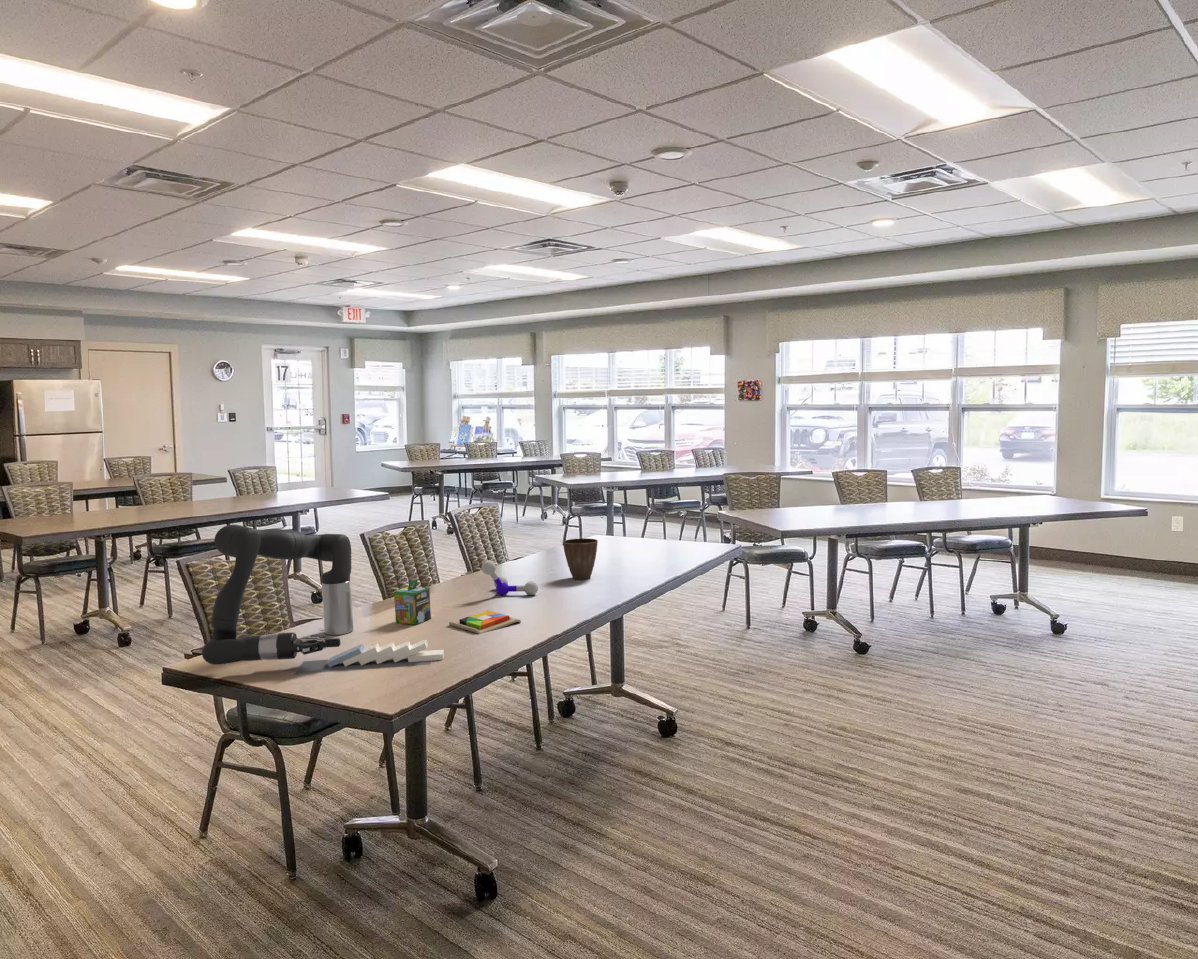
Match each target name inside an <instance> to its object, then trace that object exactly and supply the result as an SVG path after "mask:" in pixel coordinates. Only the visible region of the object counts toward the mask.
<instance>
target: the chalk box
mask: <svg viewBox="0 0 1198 959" xmlns="http://www.w3.org/2000/svg"><path fill="white" fill-rule="evenodd" d="M430 594H431V592H430V587H427V586H418V578H416V579H412V580H410V581H409V582H408V586H404V587H403V588H400V589H398V590H394V591H393V597H394V598H393V599H394V613H395V624H402V625H413V626H417V625H419V624H422V623H424V622H427V621H429V620H431V619H432V614H431V595H430Z"/></svg>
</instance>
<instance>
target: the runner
mask: <svg viewBox="0 0 1198 959" xmlns="http://www.w3.org/2000/svg"><path fill="white" fill-rule="evenodd" d="M328 660H329V659H317V660H305V661H303V662H302V663H301V664H300V666H299V667H298V668H297V670H296V671H295V672H294V675H299V674H300V675H301V674H312V673H314V674H315V673H326V672H327V673H329V672H341V671H355V670H356V671H357V670H369V669H381V668H382V669H383V668H384V669H385V668H395V667H409V666H410V667H412V666H425V665H426V666H427V665H431V664H432V661H433V660H431V661H417V662H408V657H406V658H404V659H402V660H399V661H397V662H394V660H393V658H391V659H388V660H386V661H384V662H382V663H379V664H377V662H376V660H373V661H370V662H368V663H366V664H363V665H361V664H360V662H359V661H357V662H354V663H352V664H350V665H348V666H345V665H344V663H343V662H341V663H339V664H336V665H334V666H332V667H330V668H329V666H328V664H327V662H328Z"/></svg>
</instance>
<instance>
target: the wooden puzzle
mask: <svg viewBox="0 0 1198 959" xmlns="http://www.w3.org/2000/svg"><path fill="white" fill-rule="evenodd" d="M458 620H459V621H455V622H454V621H448V625H449V626H451V627H455V628H459V629H462V630H463V631H464V630H465V631H468V632H470V633H471V632H472V633H475V634H478V635H479V634H481V635H482V634H485V633H488V632H493V631H496V630H499V629H501V628H504V627H507V626H509V625H511V624H515V623H519V624H522V621H521V619H519V618H516V617H512V616H510V615H507V614H504V613H500V612H496V611H494V610H489V609H488V610H485V611H484V610H483V611H482V612H478V613H476V614H473V615H469V616H466V617H463V618H459V619H458Z"/></svg>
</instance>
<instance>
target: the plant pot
mask: <svg viewBox="0 0 1198 959" xmlns="http://www.w3.org/2000/svg"><path fill="white" fill-rule="evenodd" d="M598 542H599V539H596V538H584V537H583V538H571V539H566V540H563V541H562V546H563V551H564V556H565V560H566V563H567V567H568V568H569V569H568V570H569V572H570V574H571V577H572V579H573V580H576V581H577V580H578V581H579V580H580V581H582V580H588V579H591V576H592V574H593V570H594V567H595V564H596V563H595V562H596V557H597V553H598V552H597V551H598Z"/></svg>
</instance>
